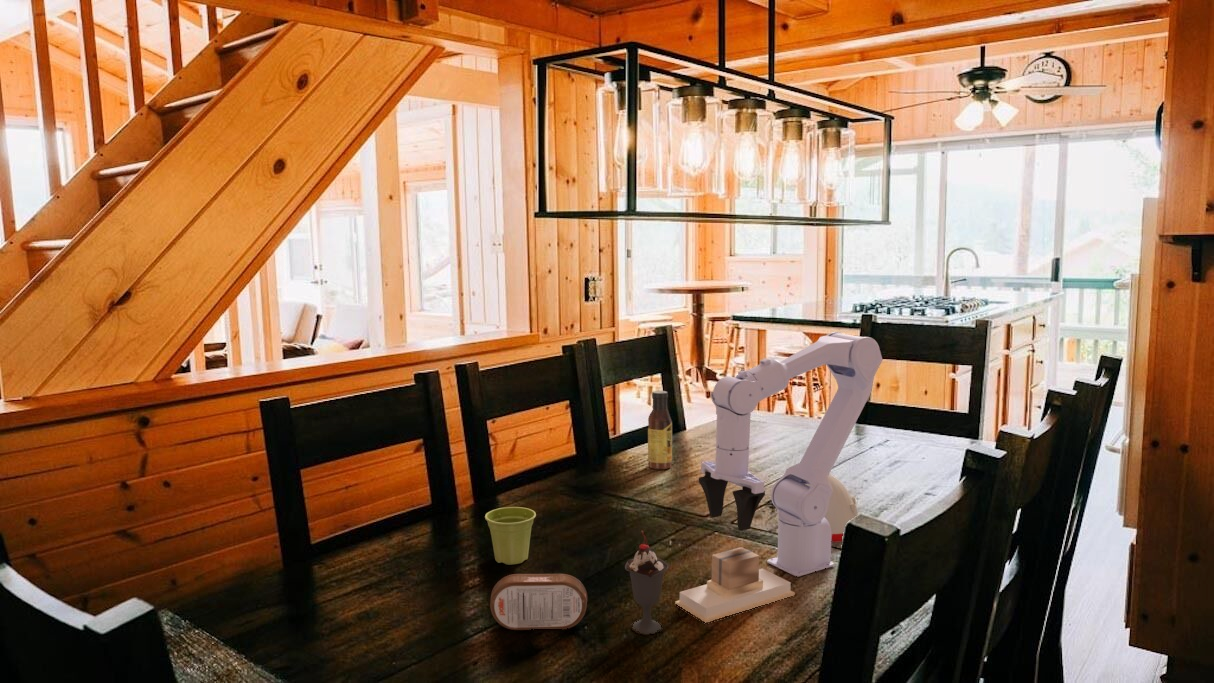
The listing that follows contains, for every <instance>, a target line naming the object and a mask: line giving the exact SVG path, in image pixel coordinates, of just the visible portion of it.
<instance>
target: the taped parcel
mask: <svg viewBox="0 0 1214 683" xmlns="http://www.w3.org/2000/svg"><path fill="white" fill-rule="evenodd" d="M759 569H760V555H759V554H757V553H755V552H753V551H752V550H749V549H747V548H744V547H742V546H741V547H740V546H739V547H736V548H732V549H730V550H725V551H722V552H718V553H714V554H712V555H711V579H709V580H706V584H707V588H708V589H710V590H712V591H713V592H715V593H717V594H719V595H720V596H722V597H724V598H729V597H732V596H736V595H739V594H742V593H746V592H749V591H752V590H756V589H759V588H762V587H763V580H761V579H760V578H759Z"/></svg>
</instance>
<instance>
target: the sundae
mask: <svg viewBox="0 0 1214 683" xmlns="http://www.w3.org/2000/svg"><path fill="white" fill-rule="evenodd" d="M640 533H641V534H642V535H643V536H642V537H643V542H642V543H641V544H640V545H639V549H638V550H637V552H635V554H634V557H633V558H631V559H627V561H626V563H625V565H624V570H626V572H628V573H629V576H630V581H631V590H632V595H633V599H634V601H635V602H636V603H637V605H639V606H640V607H641V608H642V617H641V619H639V621H638V620H636V621H637V622H636V621H634V622H633V623H634V624H633V623H632V624H633V627H632V628H633V629H636V631H639V632H640V633H644V634H649V633H655V632H657V630H659V629H661V625H662V624H661V623H660V622H659V621H657V620H654V619H652V615H651V612H652V610H651V608H652V607H654V606H655V605H656V603H658V602H659V601H660V598H661V593H662V586H663V579H664V574H665V572H666V571H667V570H668V569H669V568H670V567H669V565H668V563H667V562H666V561H665V560H663V559H661V558H659V557H657V555H656V553H655V551H654V550H653V549H651V548H650V545H648V541H647V537H646V536H645V534H644V530H641V532H640ZM656 621H657V622H656ZM658 622H659V623H660V624H661V625H660V624H659V623H658Z"/></svg>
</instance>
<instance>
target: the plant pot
mask: <svg viewBox="0 0 1214 683" xmlns="http://www.w3.org/2000/svg"><path fill="white" fill-rule="evenodd" d="M536 516H537V514H536V511H535V510H533V509H531V508H527V507H520V506H508V507H499V508H496V509H492V510H490V511H488V512H486V513H485V516H484V518H485V519H484V520H486V521H487V526H488V528H489V530H490V531H489V532H490V535H491V543H492V547H493V553H494V554H493V555H494V559H495V561H496V562H497V563H498V564H501V563H503V564H505V565H509V566H511V565H518V564H522V563H523V562H525V561H526V560H528V558H529V551H530V543H531V542H530V540H531V533H532V526H533V524H534V520H535V518H536Z"/></svg>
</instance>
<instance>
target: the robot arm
mask: <svg viewBox="0 0 1214 683" xmlns="http://www.w3.org/2000/svg"><path fill="white" fill-rule="evenodd" d="M880 349H881V348H880V346H879V344H878V342H877V341H876V340H875V339H874V338H873V337H869V336H859V335H852V334H847V333H843V332H839V331H832V332H830V333H828V334H827V335H821V336H819V338H818V340H817V341H815V342H814V343H812V344H809V345H808V346H806V347H805V348H803V349H801V350H799V351H797V352H796V353H793V354H792V355H790V356H788V357H786V358H784V359H783V360H781V361H779V360H777V359H774V358H771V359H770V358H765V357H764V358H763V359H760V361H759V363H760V364H757V365H755V366H754V367H752V368H749V369H747V370H743V369H742V370H740V371H738V372H737V375H736V376H735V377H734V376H729V375H728V376H724V377H721V378H720V379H719V380H718V381H717V382H716V383H715V385H714V387H713V389H712V390H713V391H711V392H710V399H711V401H712V403H713V404H714V406H715V415H716V429H715V430H716V431H715V458H714V459H715V460H714V461H712V460H709V461H708V460H707V461H702V462H701V463H700V473H702V474H704V475H703V476H700V477H698V483H699V485H700V486H701V488H702V490H703V492H704V496H705V498H706V503H707V508H708V512H709V516H710V517H711V518H712V519H713V518H717V517H721V516H722V514H723V510H724V501H725V500H724V499H725V494H726V489H727V486H728V483H731V484H733V485H736V486H739V487H741V488H742V489H736V490H733V491H732V496H733V497H734V498H733V499H734V502H735V505H736V512H737V513H736V515H737V517H736V518H737V519H736V520H737V521H736V522H737V529H738V530H739V531H741V532H742V531H747V530H750V529H751V527H752V523H753V519H754V517H755V513H756V511H757V508H758V507H759V505H760V503H761V501H762V500H763V498H764V497H765V496H766V491H765V481H764V480H761V479H760V478H759V477H757V476H756V475H754V474H753V473H752V472H750V471H749V466H750V465H749V463H750V462H749V460H750V440H751V439H750V436H751V435H750V434H751V416H752V414H751V413H753V411H755V410H756V408H757V406H758V405H759V403H760V402H761V401H763V400H765V399H766V398H769V397H771V396H773V395H775V394H777V393H779V392H781V391H783V390H785V389H786V388H787V387H788V386H789V382H790V380H791V379H793V378H796V377H798V376H800V375H803V374H806V373H807V372H809V371H812V370H814V369H816V368H819V367H820V368H821V367H822V366H824V365H825V366H827V368H828V370H829V371H830V373H831V375H832V376H833V378H834V379H835V381H836V384H837V391H836V392H835V394H834V396H833V398H832V400H831V402H830V404H829V406H828V408H827V410H826V412H825V413H824V415H823V418H822V419H821V421H820V423H819V425H818V427H817V429H816V431H815V433H814V434H813V437H812V438H811V440H810V443H809V444H808V446H807V448H806V450H805V452H804V454H803V455H802V457H801V460H800V461H799V462H798V463H796V464H794V465H792V466H789V467H788V468H786V470H785V472H784V474H783V475H782V476H781V477H780V478H779V479H778V480H776V481H775V483H774V485H773V486H772V488H771V491H770V499H771V502H772V504H773V506H774V507H775V508H776V514H777V516H778V522H777V524H778V526H777V528H778V530H777V556H775V557H773V558H769V559H767V561H766V562H767V564H770V565H772V566H773V567H775V568H777V569H780V570H782V571H784V572H785V573H788V574H790V575H792V576H794V577H796V576H797V577H802V576H805V575H809V574H811V573H815V571H816V572H819V571H822V570H825V568H826V569H828V568H831V567H834V566H835V563H834V562H832V561H831V559H832V557H831V556H832V542H831V536H832V533H831V527H830V524H829V522H828V521H827V519H826V518H825V515H826V513H827V511H828V505H829V499H830V496H831V494H832V492H833V489H832V487H831V484H830V482H829V479H828V475H829V474H830V473H831V472H832V469H833V467H834V466H835V464H836V461H837V459H838V458H839V456H840V454H841V452H842V450H843V448H844V446H845V444H846V442H847V440H848V438H849V436H850V434H851V432H852V431H853V429H854V427H855V425H856V423H857V421H858V418H859V417H860V415H861V413H862V411H863V409H864V407H865V405H866V403H867V402H868V399H869V398H870V395H871V393H872V390H873V385H874V381H875V376H876V374H877V372H878V369H879V368H880V366H881V364H882V363H883V356H882V352H881V350H880ZM805 484H809V485H810V486H807V485H805Z"/></svg>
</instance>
